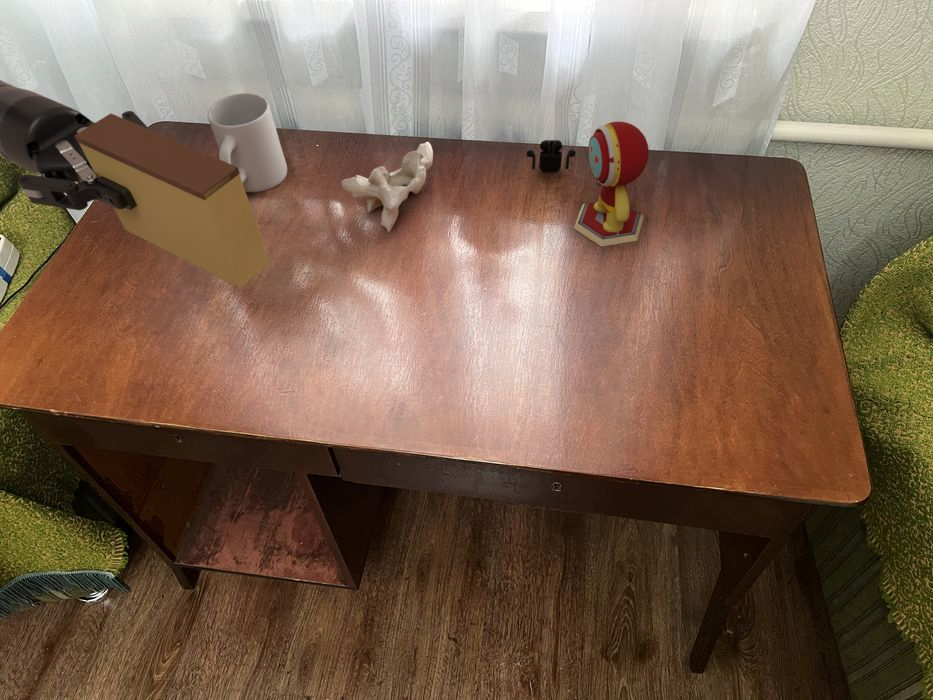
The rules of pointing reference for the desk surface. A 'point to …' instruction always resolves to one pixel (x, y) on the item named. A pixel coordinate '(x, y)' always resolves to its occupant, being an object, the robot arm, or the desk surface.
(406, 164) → the decorative object
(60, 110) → the robot arm
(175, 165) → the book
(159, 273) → the desk surface
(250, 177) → the mug
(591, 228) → the figurine
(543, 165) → the wireless earbuds
